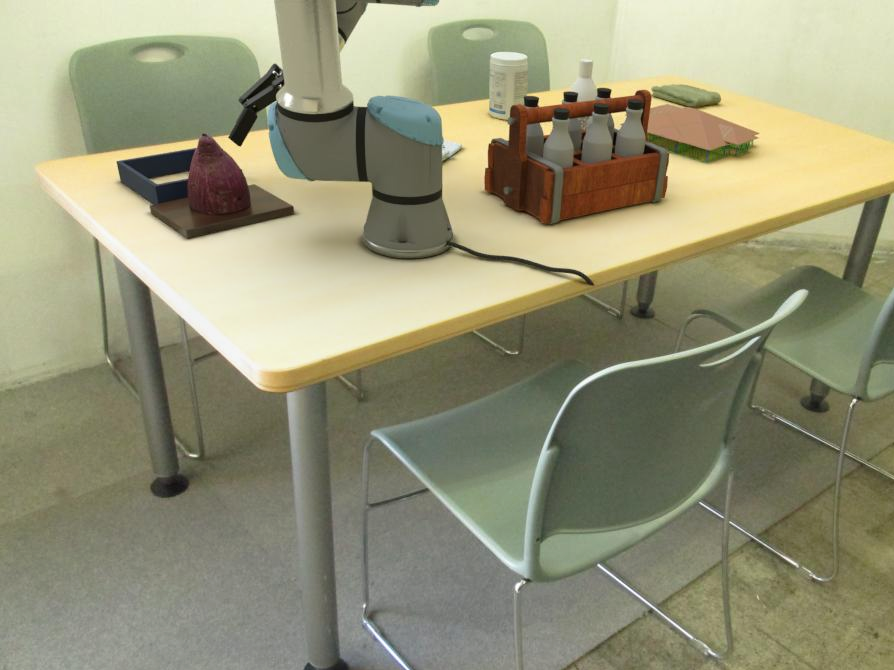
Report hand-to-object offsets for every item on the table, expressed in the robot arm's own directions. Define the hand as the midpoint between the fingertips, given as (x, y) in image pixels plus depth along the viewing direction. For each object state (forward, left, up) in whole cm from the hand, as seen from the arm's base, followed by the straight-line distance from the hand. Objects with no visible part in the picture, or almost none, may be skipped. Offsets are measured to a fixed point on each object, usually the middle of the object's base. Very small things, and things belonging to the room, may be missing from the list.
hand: (258, 150), depth 153 cm
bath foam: (-11, -74, -9) cm, 75 cm away
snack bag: (+8, -40, -9) cm, 42 cm away
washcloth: (+6, -137, -9) cm, 137 cm away
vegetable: (-1, +9, -8) cm, 12 cm away
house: (-20, -103, -9) cm, 105 cm away
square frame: (+15, +9, -9) cm, 20 cm away
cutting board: (-2, +9, -9) cm, 13 cm away
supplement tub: (+20, -80, -9) cm, 83 cm away
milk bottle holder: (-32, -51, -9) cm, 61 cm away
